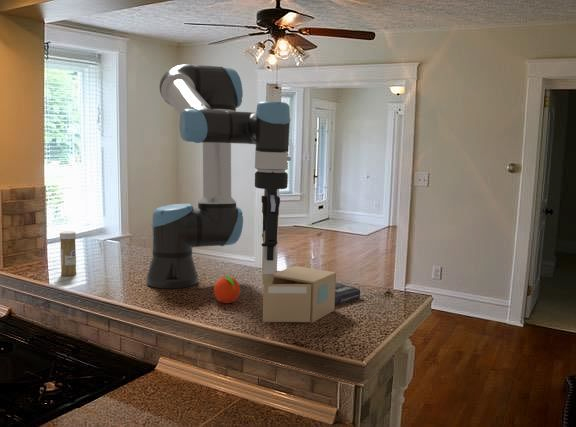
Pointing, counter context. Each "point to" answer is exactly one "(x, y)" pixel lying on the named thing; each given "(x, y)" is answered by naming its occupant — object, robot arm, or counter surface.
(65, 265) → the sprinkles bottle
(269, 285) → the tan tapered piece
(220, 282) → the clementine
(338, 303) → the box
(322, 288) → the carton
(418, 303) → the counter surface
